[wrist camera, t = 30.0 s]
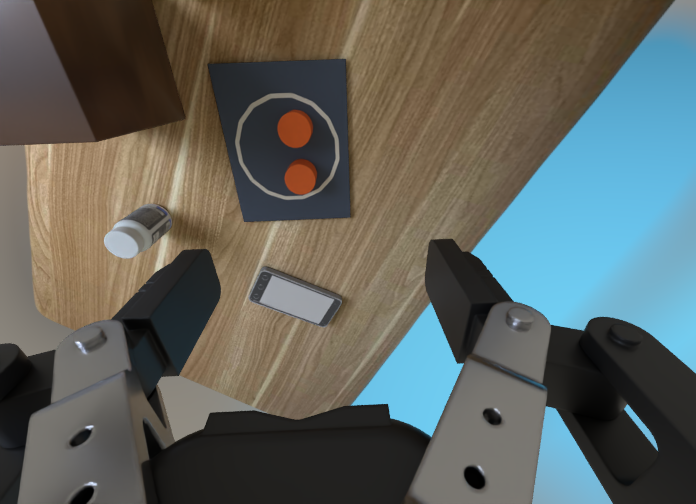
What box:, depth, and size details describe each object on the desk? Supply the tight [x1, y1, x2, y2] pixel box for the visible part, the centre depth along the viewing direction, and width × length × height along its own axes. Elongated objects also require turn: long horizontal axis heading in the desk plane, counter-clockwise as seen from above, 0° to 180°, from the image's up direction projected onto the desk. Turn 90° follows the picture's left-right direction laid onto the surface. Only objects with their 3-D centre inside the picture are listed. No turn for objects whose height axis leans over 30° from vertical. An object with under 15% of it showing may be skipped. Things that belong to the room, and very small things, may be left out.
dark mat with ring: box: [208, 59, 350, 222], centre depth 39 cm, size 20×16×1 cm
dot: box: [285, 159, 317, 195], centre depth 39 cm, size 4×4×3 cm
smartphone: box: [249, 267, 342, 327], centre depth 52 cm, size 7×1×15 cm
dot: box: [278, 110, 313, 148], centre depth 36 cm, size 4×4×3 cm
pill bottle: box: [104, 204, 172, 258], centre depth 40 cm, size 5×5×8 cm
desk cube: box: [0, 0, 185, 146], centre depth 27 cm, size 13×9×16 cm
